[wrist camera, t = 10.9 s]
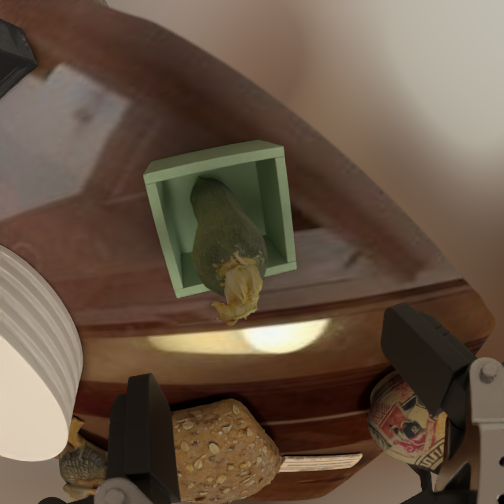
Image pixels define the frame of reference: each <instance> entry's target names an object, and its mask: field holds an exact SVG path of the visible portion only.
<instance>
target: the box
mask: <svg viewBox="0 0 504 504" xmlns="http://www.w3.org/2000/svg"><path fill="white" fill-rule="evenodd" d="M36 66H37V63H36V61H35V58H34V56H33V53H32V51H31V49H30V47H29V45H28V42H27V40H26V38H25V35H24V33H23V30H22V29H21V28H19V27H17V26H15V25H13V24H10V23H9V22H6V21H4V20H2V19H0V98H1V97H2V96H3V95H4V94H5V93H6V92H7V91H8V90H9V89H10V88H11V87H12V86H14V85H15V84H16V83H17V82H18V81H19V80H20V79H21V78H23V77H24V76H25V75H26V74H27V73H28V72H30V71H31V70H32V69H33V68H34V67H36Z"/></svg>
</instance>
